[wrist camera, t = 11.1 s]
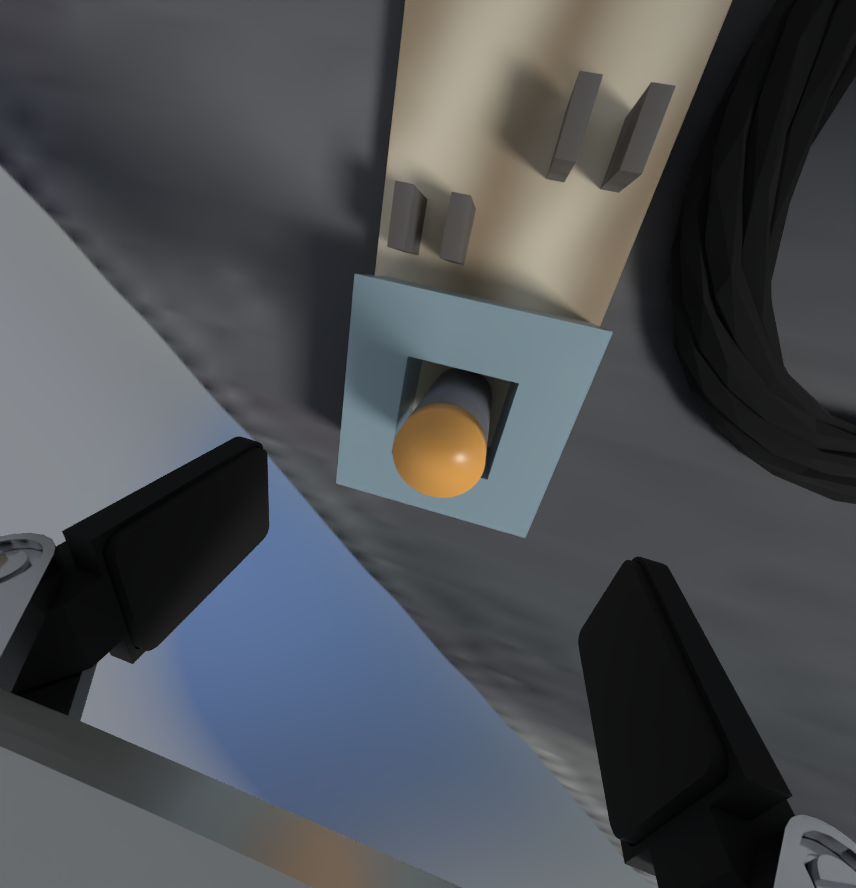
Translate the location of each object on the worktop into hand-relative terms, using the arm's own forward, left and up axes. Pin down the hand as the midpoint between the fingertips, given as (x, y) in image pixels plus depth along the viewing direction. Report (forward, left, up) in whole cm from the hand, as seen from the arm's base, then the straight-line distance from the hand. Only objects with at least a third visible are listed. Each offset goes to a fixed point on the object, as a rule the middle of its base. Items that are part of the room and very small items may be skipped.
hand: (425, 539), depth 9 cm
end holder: (+1, 0, -13) cm, 13 cm away
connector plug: (0, 0, -13) cm, 13 cm away
